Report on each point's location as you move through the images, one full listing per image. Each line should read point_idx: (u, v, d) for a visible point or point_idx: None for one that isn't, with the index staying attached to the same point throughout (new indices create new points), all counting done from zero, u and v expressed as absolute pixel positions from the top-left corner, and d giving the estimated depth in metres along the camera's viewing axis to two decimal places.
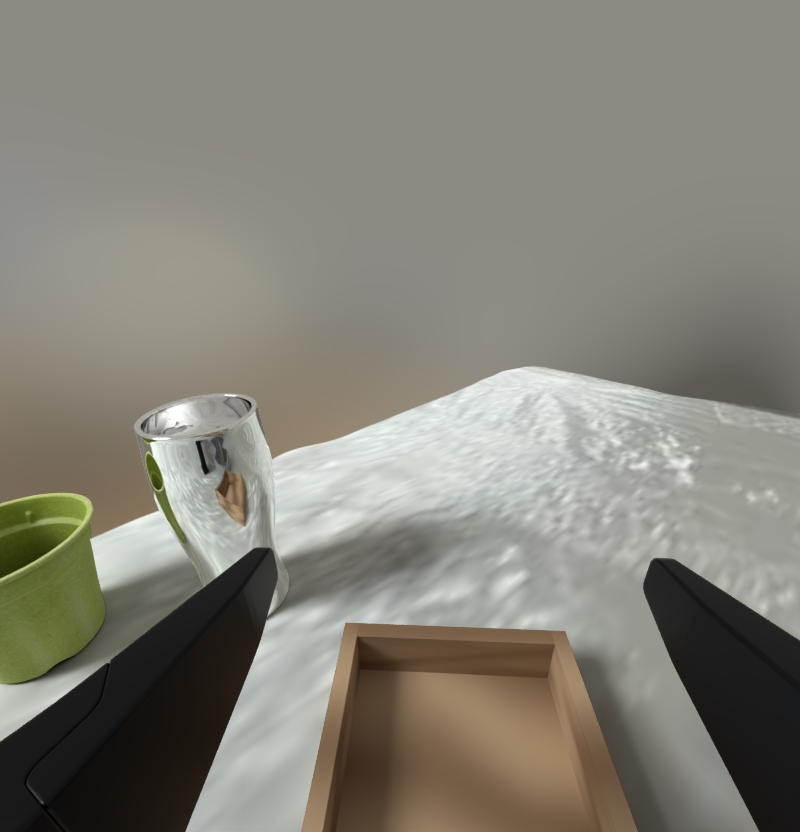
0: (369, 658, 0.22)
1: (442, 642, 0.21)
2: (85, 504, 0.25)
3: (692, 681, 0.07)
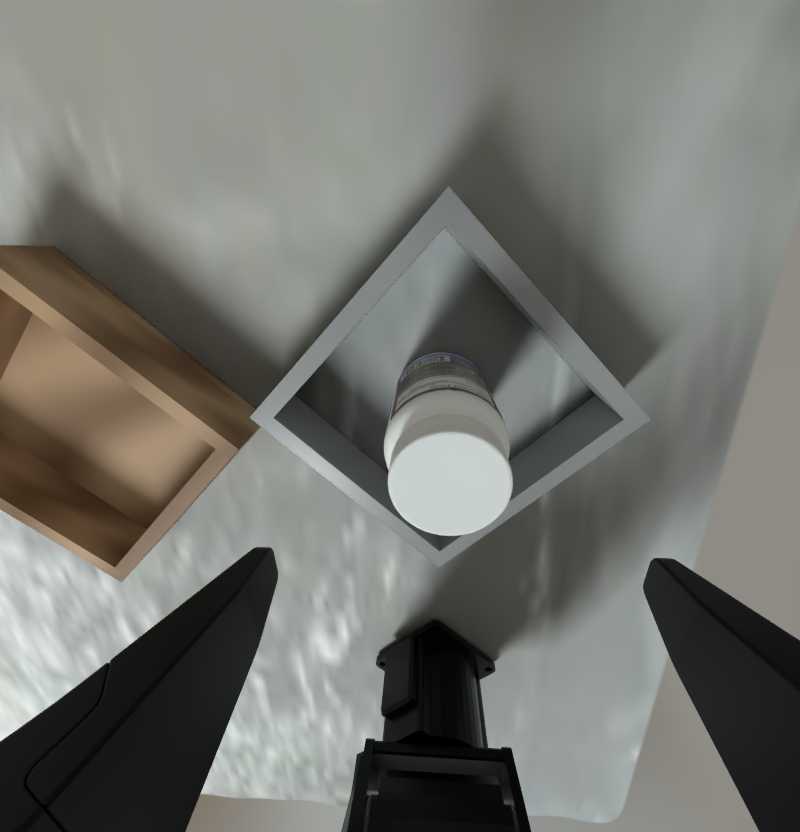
0: None
1: None
2: None
3: (692, 681, 0.07)
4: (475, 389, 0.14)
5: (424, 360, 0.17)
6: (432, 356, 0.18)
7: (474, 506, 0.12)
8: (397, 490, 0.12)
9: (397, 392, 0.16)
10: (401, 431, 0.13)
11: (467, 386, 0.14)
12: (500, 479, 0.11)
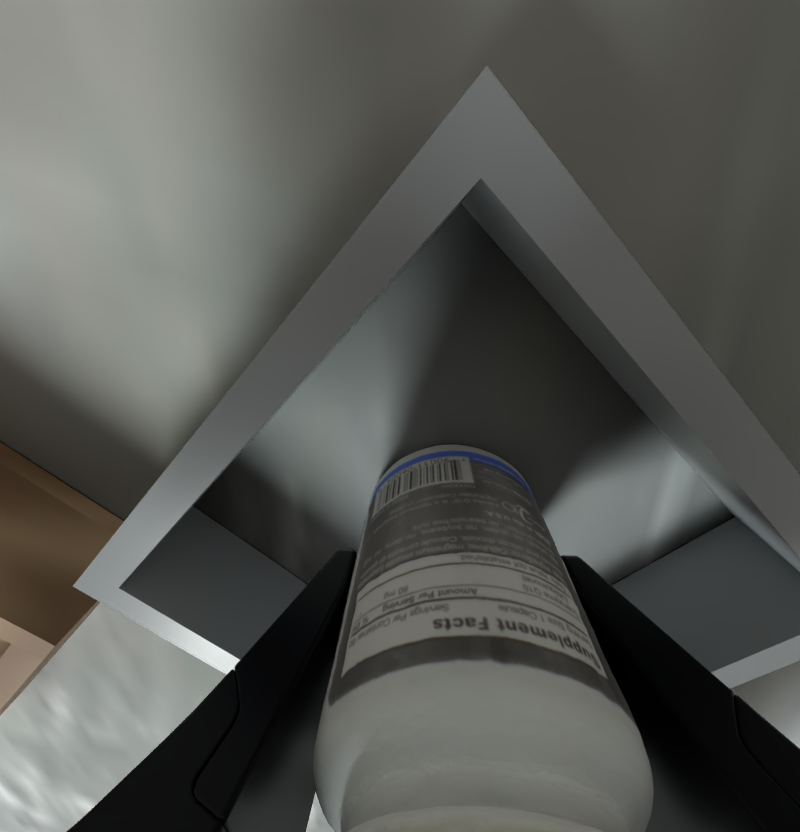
0: None
1: None
2: None
3: None
4: (551, 619, 0.05)
5: (420, 469, 0.09)
6: (436, 459, 0.09)
7: None
8: None
9: (363, 551, 0.08)
10: (350, 779, 0.05)
11: (532, 617, 0.05)
12: None
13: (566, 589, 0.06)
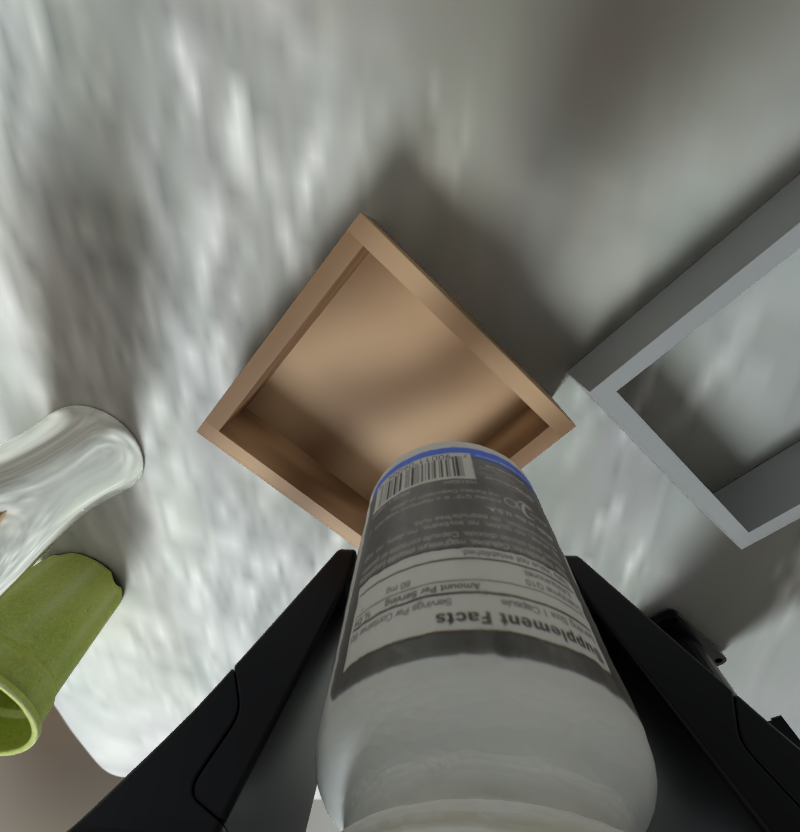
0: (243, 407, 0.20)
1: (276, 358, 0.16)
2: None
3: None
4: (555, 614, 0.05)
5: (421, 466, 0.09)
6: (437, 456, 0.09)
7: None
8: None
9: (365, 547, 0.08)
10: (353, 774, 0.04)
11: (536, 611, 0.05)
12: None
13: (569, 584, 0.06)
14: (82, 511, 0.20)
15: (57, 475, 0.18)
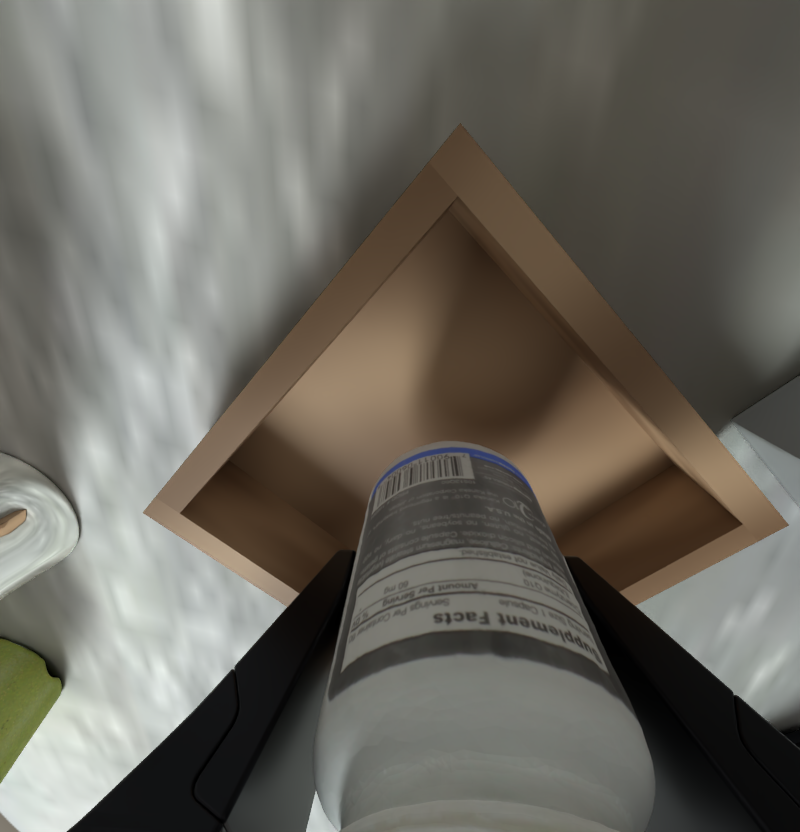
0: (223, 465, 0.12)
1: (278, 401, 0.09)
2: None
3: None
4: (553, 614, 0.05)
5: (420, 466, 0.09)
6: (436, 456, 0.09)
7: None
8: None
9: (363, 547, 0.08)
10: (350, 774, 0.04)
11: (533, 612, 0.05)
12: None
13: (567, 584, 0.06)
14: None
15: None
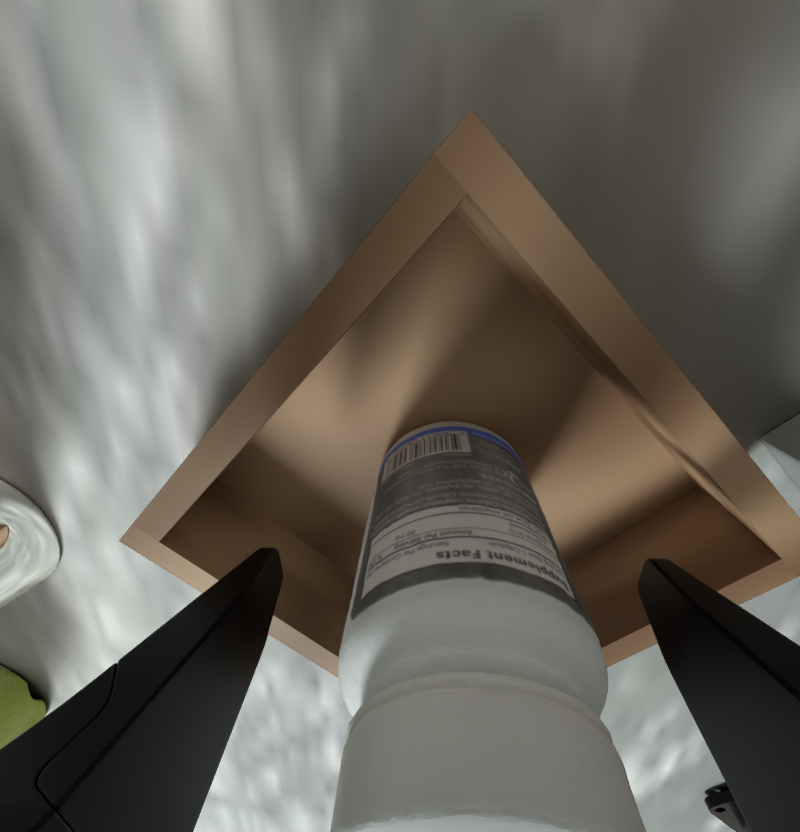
0: None
1: (265, 422, 0.08)
2: None
3: (685, 681, 0.07)
4: (531, 554, 0.07)
5: (424, 442, 0.10)
6: (438, 433, 0.10)
7: None
8: None
9: (374, 509, 0.09)
10: (371, 669, 0.06)
11: (516, 551, 0.06)
12: None
13: (546, 536, 0.07)
14: None
15: None
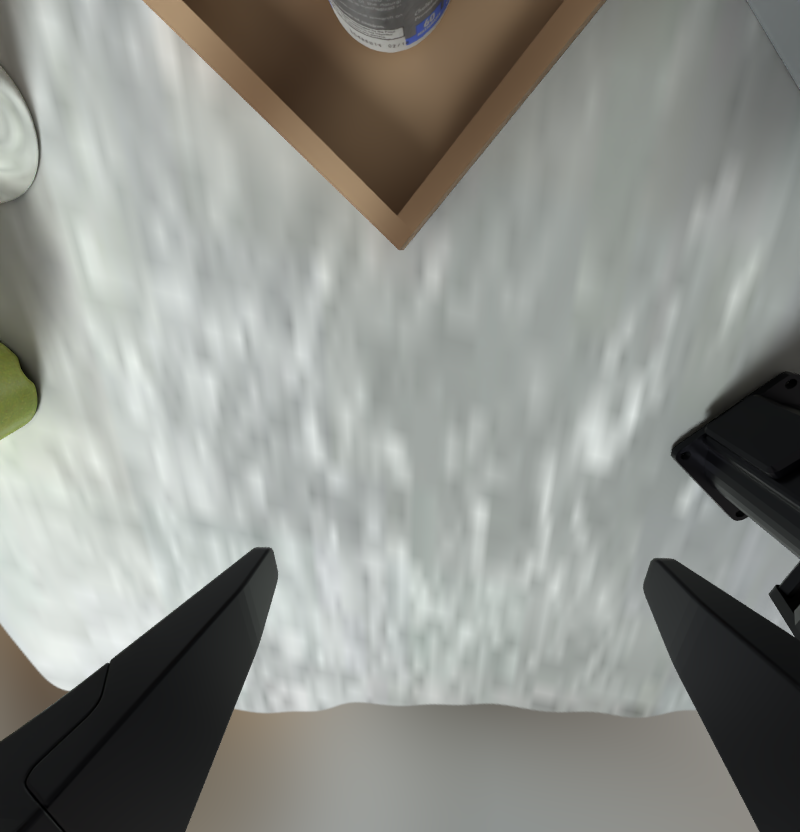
0: None
1: None
2: None
3: (692, 681, 0.07)
4: None
5: None
6: None
7: None
8: None
9: None
10: None
11: None
12: None
13: None
14: None
15: None
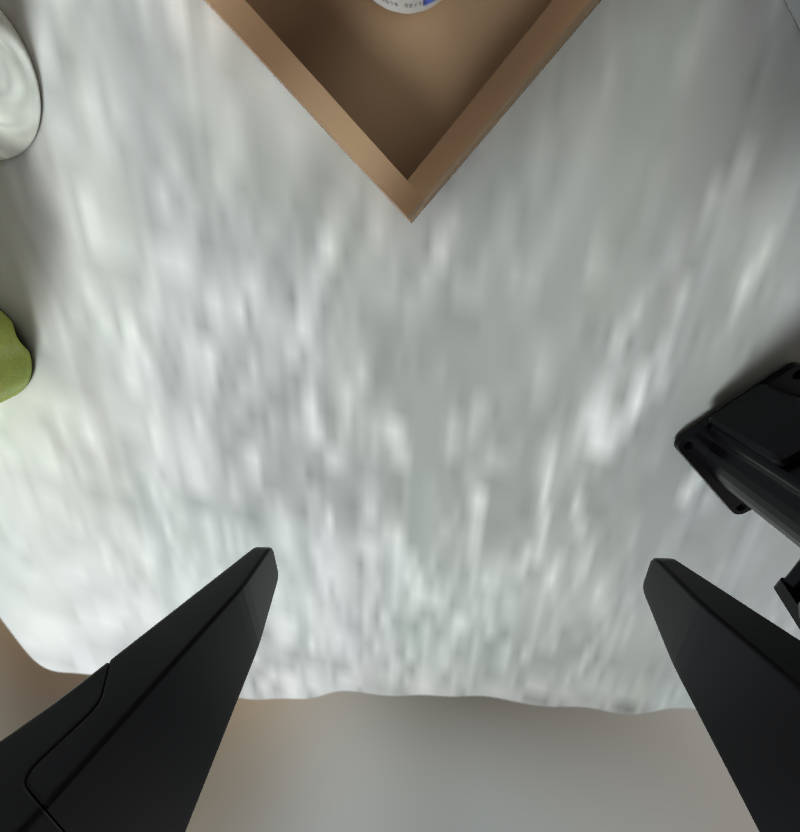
0: None
1: None
2: None
3: (692, 681, 0.07)
4: None
5: None
6: None
7: None
8: None
9: None
10: None
11: None
12: None
13: None
14: None
15: None
